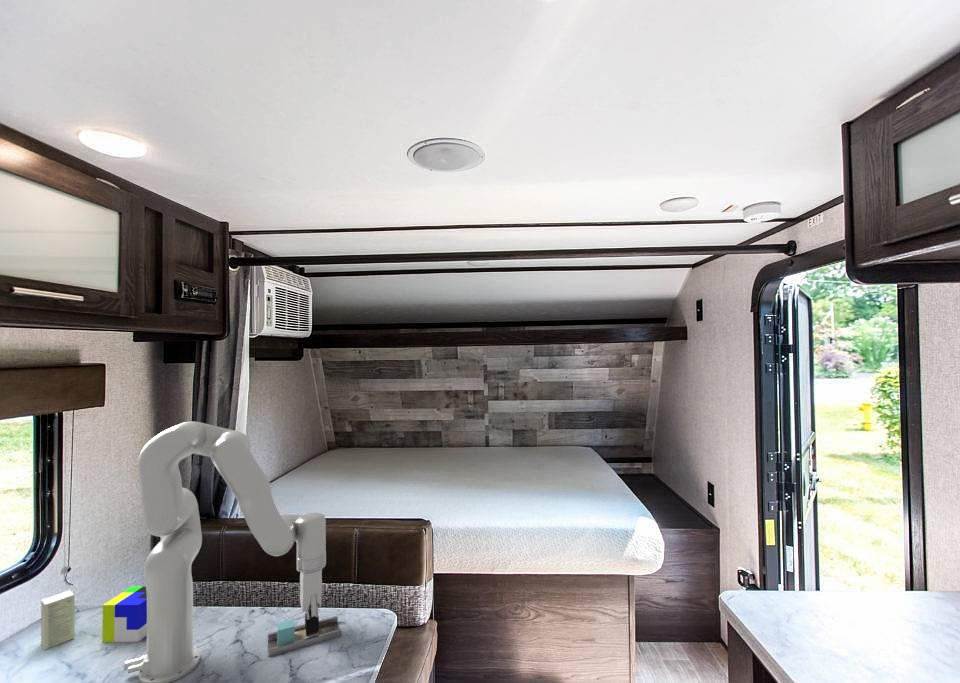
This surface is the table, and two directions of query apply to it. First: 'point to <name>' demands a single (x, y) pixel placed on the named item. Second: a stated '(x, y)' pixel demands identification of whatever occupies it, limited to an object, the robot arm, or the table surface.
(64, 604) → the skincare box
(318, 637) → the board
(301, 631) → the cream sled with handle
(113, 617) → the puzzle toy
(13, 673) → the table surface
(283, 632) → the cube
